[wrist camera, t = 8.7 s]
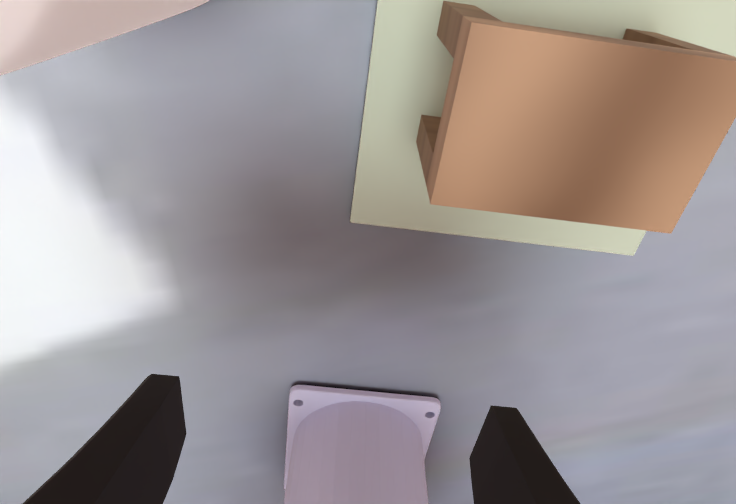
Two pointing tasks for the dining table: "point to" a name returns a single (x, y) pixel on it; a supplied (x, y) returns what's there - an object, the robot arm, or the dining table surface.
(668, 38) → the stool
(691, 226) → the dining table surface
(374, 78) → the mat
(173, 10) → the can
